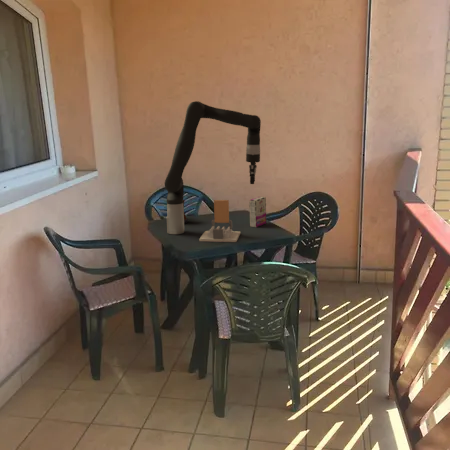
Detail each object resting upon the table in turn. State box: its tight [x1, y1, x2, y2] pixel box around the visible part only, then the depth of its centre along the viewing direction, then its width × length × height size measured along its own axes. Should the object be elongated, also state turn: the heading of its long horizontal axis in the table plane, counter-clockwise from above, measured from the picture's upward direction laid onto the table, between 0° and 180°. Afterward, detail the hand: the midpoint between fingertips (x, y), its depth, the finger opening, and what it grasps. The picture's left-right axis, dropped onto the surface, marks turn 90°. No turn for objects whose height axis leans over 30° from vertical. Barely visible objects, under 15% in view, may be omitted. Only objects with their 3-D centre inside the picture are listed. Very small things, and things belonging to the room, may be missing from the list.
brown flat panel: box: [213, 199, 230, 224], centre depth 275 cm, size 8×1×13 cm, turn 81°
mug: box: [183, 199, 189, 225], centre depth 308 cm, size 18×12×15 cm, turn 16°
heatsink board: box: [198, 219, 241, 243], centre depth 271 cm, size 20×17×8 cm
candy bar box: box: [248, 196, 267, 228], centre depth 294 cm, size 11×5×16 cm, turn 143°
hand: (252, 182), depth 271 cm, fingers open, 8 cm apart
